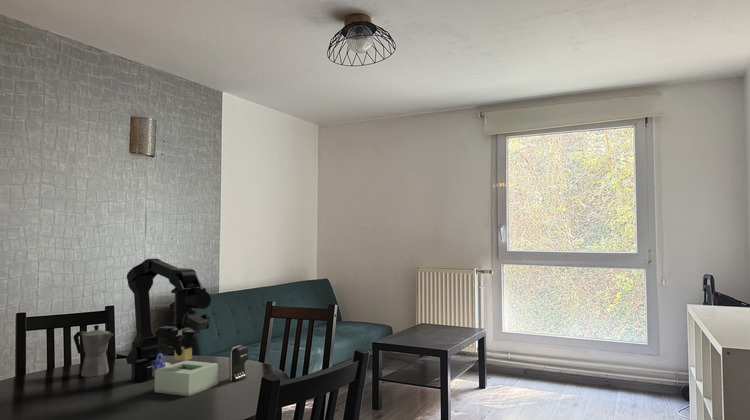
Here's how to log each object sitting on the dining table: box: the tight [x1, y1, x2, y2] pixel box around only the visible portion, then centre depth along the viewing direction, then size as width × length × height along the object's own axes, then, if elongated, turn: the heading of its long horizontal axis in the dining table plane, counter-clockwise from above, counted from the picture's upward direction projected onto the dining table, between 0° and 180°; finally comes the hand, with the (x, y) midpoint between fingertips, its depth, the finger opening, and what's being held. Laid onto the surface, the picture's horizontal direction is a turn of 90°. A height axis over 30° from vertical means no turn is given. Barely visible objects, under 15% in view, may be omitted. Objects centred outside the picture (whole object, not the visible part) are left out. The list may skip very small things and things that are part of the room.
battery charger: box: [229, 345, 249, 382], centre depth 178 cm, size 7×4×11 cm, turn 159°
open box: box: [154, 360, 219, 397], centre depth 167 cm, size 14×14×7 cm
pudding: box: [152, 352, 172, 371], centre depth 196 cm, size 12×12×5 cm
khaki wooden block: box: [173, 346, 193, 361], centre depth 166 cm, size 4×3×4 cm
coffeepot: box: [73, 324, 114, 378], centre depth 187 cm, size 15×9×18 cm, turn 85°
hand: (183, 354), depth 166 cm, fingers closed on khaki wooden block, 3 cm apart
